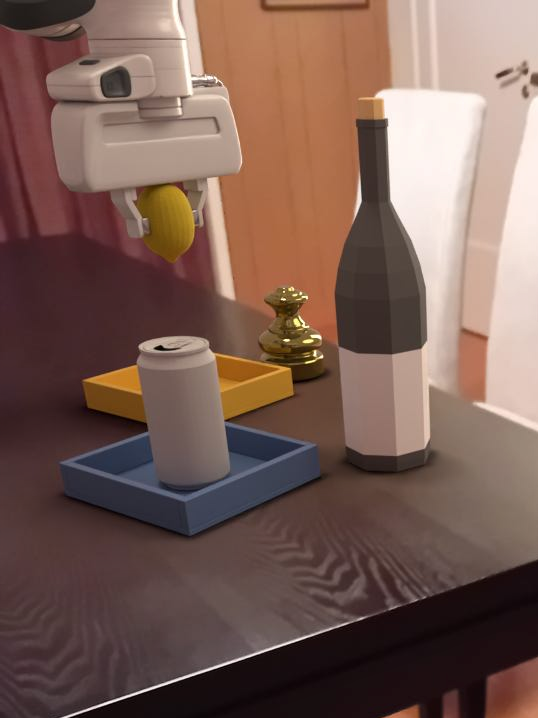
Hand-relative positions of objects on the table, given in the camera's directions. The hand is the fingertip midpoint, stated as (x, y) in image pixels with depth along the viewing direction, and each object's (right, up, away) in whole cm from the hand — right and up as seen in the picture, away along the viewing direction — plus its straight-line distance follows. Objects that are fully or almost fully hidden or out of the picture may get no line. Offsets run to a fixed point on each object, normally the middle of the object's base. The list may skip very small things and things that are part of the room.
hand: (166, 232), depth 102 cm
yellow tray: (0, -15, +9) cm, 17 cm away
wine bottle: (+23, -24, -6) cm, 34 cm away
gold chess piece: (+9, -10, +18) cm, 23 cm away
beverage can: (+6, -27, -12) cm, 31 cm away
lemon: (0, -3, +2) cm, 3 cm away
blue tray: (+6, -27, -12) cm, 31 cm away
